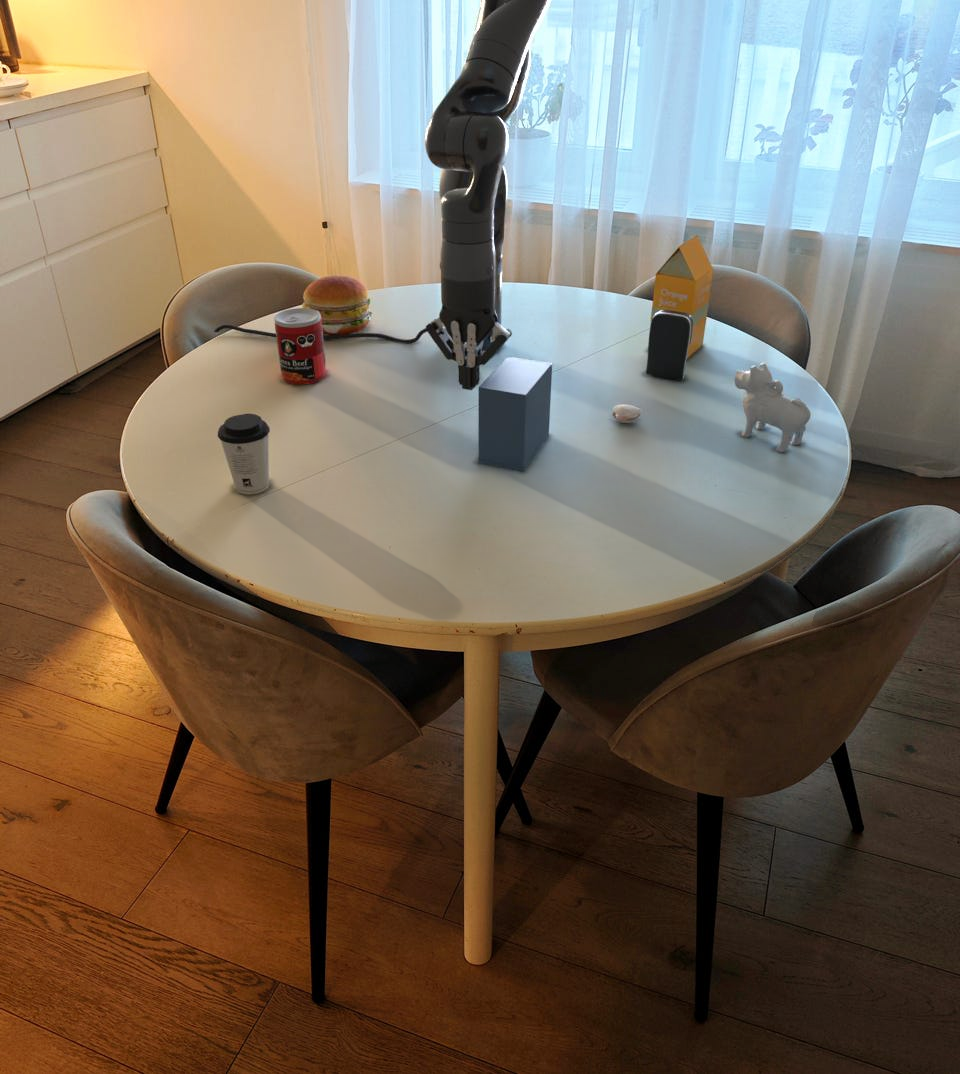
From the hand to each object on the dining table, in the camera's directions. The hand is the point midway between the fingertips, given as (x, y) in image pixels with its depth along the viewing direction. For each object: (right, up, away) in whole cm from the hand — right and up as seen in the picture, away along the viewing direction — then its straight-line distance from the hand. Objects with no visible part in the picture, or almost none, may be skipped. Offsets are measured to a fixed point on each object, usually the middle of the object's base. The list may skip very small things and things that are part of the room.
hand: (468, 387), depth 134 cm
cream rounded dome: (+25, -3, +11) cm, 28 cm away
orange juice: (+38, +13, +36) cm, 54 cm away
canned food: (-29, +6, +25) cm, 39 cm away
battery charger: (+34, +6, +26) cm, 44 cm away
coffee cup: (-30, -15, -6) cm, 35 cm away
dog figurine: (+45, -7, +6) cm, 46 cm away
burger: (-26, +19, +45) cm, 56 cm away
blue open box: (+7, -4, -1) cm, 8 cm away
